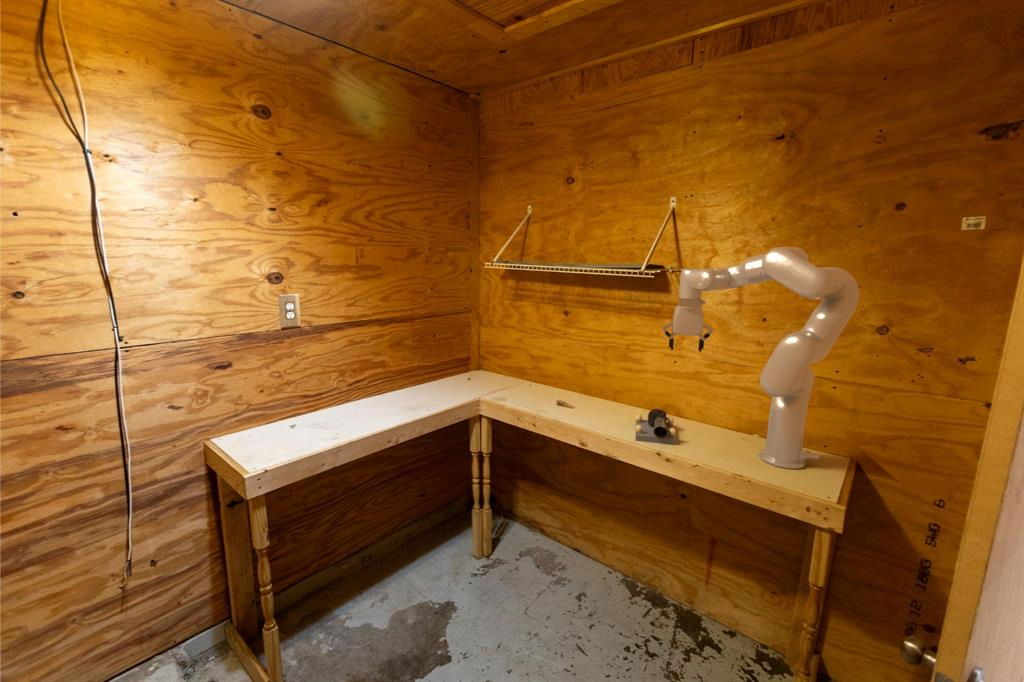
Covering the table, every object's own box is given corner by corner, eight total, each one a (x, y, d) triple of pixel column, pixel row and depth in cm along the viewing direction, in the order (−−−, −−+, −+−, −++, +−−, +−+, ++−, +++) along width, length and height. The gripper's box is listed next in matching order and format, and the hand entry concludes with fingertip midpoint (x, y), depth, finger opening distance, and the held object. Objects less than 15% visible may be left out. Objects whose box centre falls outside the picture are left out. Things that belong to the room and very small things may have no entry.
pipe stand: (672, 427, 168) (673, 415, 167) (675, 444, 153) (676, 432, 152) (635, 424, 172) (636, 412, 171) (635, 440, 156) (636, 428, 156)
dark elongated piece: (668, 439, 153) (669, 423, 151) (647, 437, 154) (647, 421, 153) (666, 421, 169) (667, 406, 168) (647, 419, 171) (648, 404, 170)
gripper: (713, 303, 165) (709, 349, 168) (663, 301, 169) (660, 346, 173) (717, 305, 158) (712, 353, 161) (664, 303, 162) (661, 350, 166)
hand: (685, 350), depth 167 cm, fingers open, 9 cm apart
